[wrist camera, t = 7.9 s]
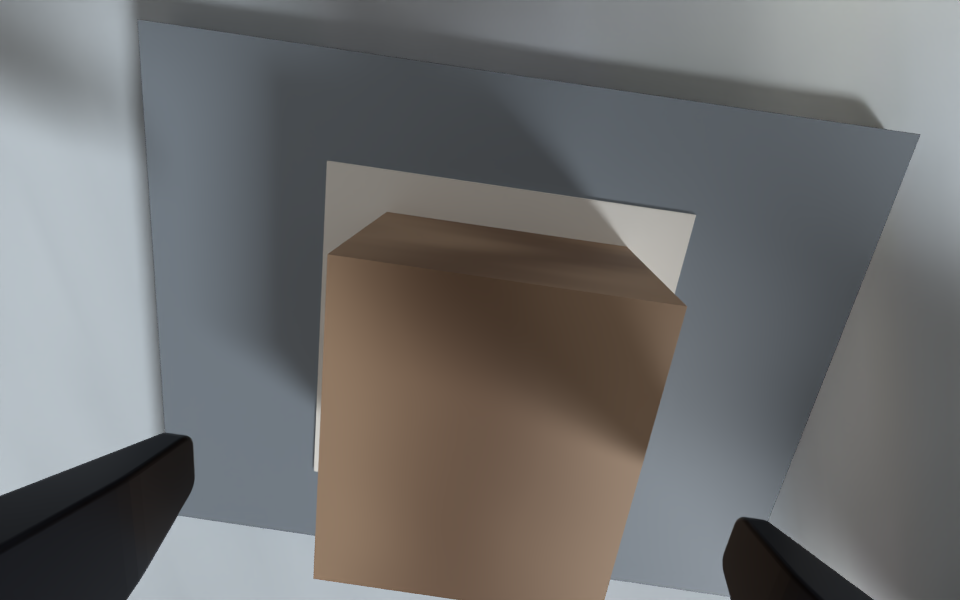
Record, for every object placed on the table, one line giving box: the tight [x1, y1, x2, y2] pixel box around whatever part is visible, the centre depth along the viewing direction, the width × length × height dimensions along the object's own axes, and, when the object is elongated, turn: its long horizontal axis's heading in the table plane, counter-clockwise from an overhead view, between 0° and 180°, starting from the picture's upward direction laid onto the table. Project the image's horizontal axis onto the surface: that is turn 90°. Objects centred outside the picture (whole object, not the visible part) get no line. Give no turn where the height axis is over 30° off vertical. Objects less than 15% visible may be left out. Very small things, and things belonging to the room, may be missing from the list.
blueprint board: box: [137, 19, 920, 597], centre depth 14 cm, size 18×14×1 cm
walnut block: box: [314, 212, 687, 600], centre depth 12 cm, size 6×7×4 cm
